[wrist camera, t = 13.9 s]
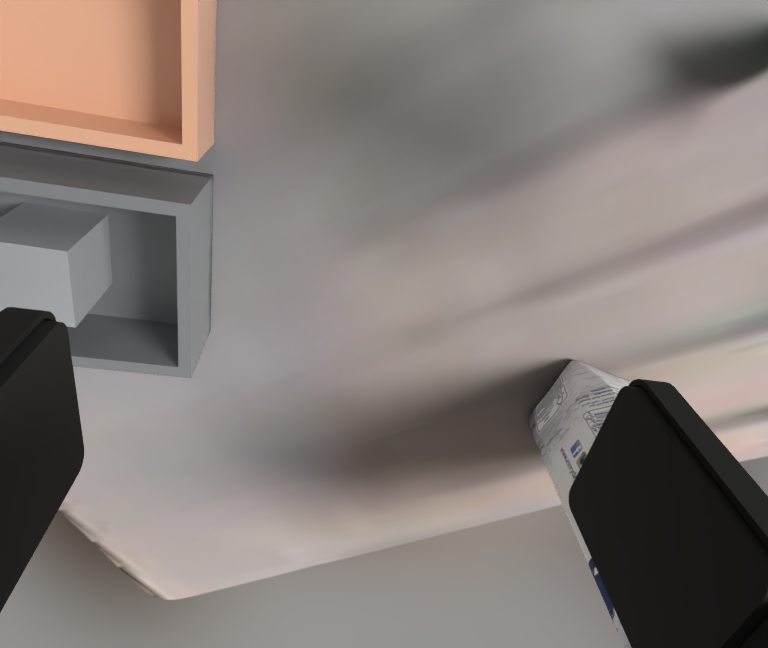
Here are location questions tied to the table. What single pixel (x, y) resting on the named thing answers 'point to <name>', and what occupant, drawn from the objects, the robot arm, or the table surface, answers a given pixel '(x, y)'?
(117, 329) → the bin
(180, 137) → the trough
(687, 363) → the table surface
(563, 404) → the juice carton
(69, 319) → the block
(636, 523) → the robot arm
